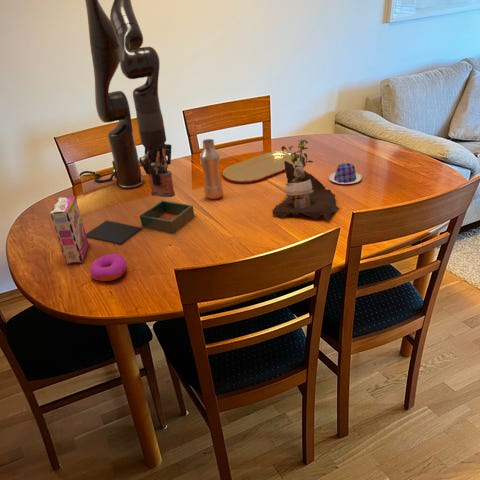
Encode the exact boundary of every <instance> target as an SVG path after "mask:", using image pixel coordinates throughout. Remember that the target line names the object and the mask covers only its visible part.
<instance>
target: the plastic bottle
mask: <svg viewBox="0 0 480 480" xmlns="http://www.w3.org/2000/svg"><path fill="white" fill-rule="evenodd" d="M202 148H203V149H202V150H201V153H200V157H199V158H200V163H201V166H202V171H203V177H204V188H203V189H204V195H205V197H206V198H208V199H210V200H217V199H220V198H221V197H222V196H223V194H224V187H223V184H222V180H221V176H220V154H219V152H218V151H217V149H216V148H215V140H214V139H211V138H208V139H204V140H202Z"/></svg>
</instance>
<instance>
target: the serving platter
mask: <svg viewBox="0 0 480 480" xmlns="http://www.w3.org/2000/svg"><path fill="white" fill-rule="evenodd" d="M287 153H288V151H272V152H271V151H270V152H266V153H263V154H260V155H257V156H254V157H251V158H249V159H246V160H242V161H240V162H237V163H234V164H231V165H229V166H227V167H225V168H224V169H223V171H222V175H223V177H224V178H225V179H226V180H228V181H230V182H233V183H238V184H239V183H240V184H247V183H255V182H258V181H262V180H264V179H266V178H269V177H272V176H274V175H277V174H280V173H282V172H286V171H285V164H284V161H287V162H289V163H290V164H293V162H292V161H291V158H292V157H291V153H288V154H287ZM293 157H294V155H293ZM299 161H300V158H297V161H295V164H298V162H299ZM293 165H294V164H293Z"/></svg>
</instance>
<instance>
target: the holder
mask: <svg viewBox="0 0 480 480" xmlns="http://www.w3.org/2000/svg"><path fill="white" fill-rule="evenodd" d="M164 213H167V214H171V215H172V214H173V215H176V216H175V217H173V218H172V219H171V220H170V219H165V218H159V217H160V216H161V215H163V214H164ZM194 217H195V210H194V205H193V204H192V205H191V204H186V203H180V202H176V201H169V200H164V199H163V200H162V199H161V200H160V201H159V202H157V203H156V204H155V205H153V206H152V207H150V208H149V209H147V210H146V211H144V212H143V213H141V214H140V215H139V219H140V223H141V228H145V229H151V230H155V231H160V232H164V233H165V232H166V233H170V234H175V233H176V232H177V231H178V230H179V229H181V228H182V227H184V226H185V225H186V224H187V223H188V222H190V221H191V220H192V219H193V218H194Z"/></svg>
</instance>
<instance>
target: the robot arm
mask: <svg viewBox="0 0 480 480" xmlns="http://www.w3.org/2000/svg"><path fill="white" fill-rule="evenodd" d="M84 1H85V7H86V16H87V25H88V38H89V46H90V52H91V53H90V54H91V59H92V61H91V62H92V66H93V68H92V69H93V75H94V76H93V77H94V97H95V98H94V99H95V107H96V112H97V115H98V118H99V120H100V121H101V122H103V123H108V124H109V123H112V122H117V124H116V125H115V126H114V127H113V128H112V129H110V131H108V133H107V139H108V142H109V147H110V150H111V155H112V158H113V160H112V161H111V164H112V167H113V172H112V174H110V177H109V178H107V179H99V178H100V177H101V175H100V174H99V173H98V174H99V176H98V174H95V171H92V170H83V171H82V172H80V173H79V175H78V177H82V176H83V175H85V174H90V175H91V174H92V173H93V174H92V175H95V176H96V177H94V182H96V183H106V182H111V181H112V180H113V179H116V183H117V186H119V187H120V188H122V189H135V188H137V187H140V186H142V185H143V184H144V174H142V170H141V169H143V170H144V172H145V175H148V174H150V175H152V180H153V184H154V185H155V186H160V185H161V183H160V178H159V174H158V167H159V163H161V164H162V165H167V169H168V168H169V165H171V163H172V144H169V143H166V142H167V135H166V129H165V124H164V123H165V122H164V117H163V113H162V109H161V104H160V98H159V76H160V66H161V64H160V63H161V61H160V57H159V56H160V55H159V54H158V52H157V51H156V49H155V48H154V47H152V46H143V44H144V35H143V32H142V30H141V28H140V25H139V22H138V19H137V17H136V14H135V12H134V9H133V5H132V1H131V0H113V3H112V6H111V8H110V14H109V16H108V15H107V14H106V11H105V10H104V8H103V7H102V5H101V3H100V1H99V0H84ZM119 66H120V70H121V74H122V75H123V76H124V77H125V78H126V79H129V80H138V79H142V78H146V81H145V83H143V84H142V85H140V86H138V87H136V88H134V89H133V91H132V98H133V103H134V109H135V115H136V123H137V129H138V134H139V138H140V143H141V145H142V146H143V147H144V155H143V156H142V157H139V154H138V150H137V145H136V140H135V136H134V127H133V121H132V116H131V115H132V114H131V109H130V103H129V100H128V97H127V96H126V94H125V92H124V91H122V90H116V91H115V90H114V91H111V92H110V85H111V82H112V80H113V78H114V76H115V74H116V72H117V70H118V68H119ZM141 166H142V168H141ZM153 167H154V168H155V170H153Z"/></svg>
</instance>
